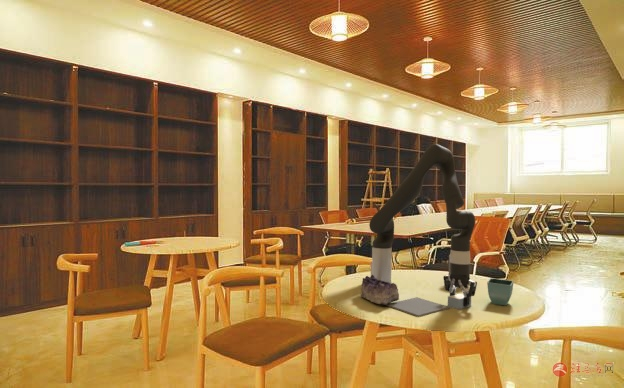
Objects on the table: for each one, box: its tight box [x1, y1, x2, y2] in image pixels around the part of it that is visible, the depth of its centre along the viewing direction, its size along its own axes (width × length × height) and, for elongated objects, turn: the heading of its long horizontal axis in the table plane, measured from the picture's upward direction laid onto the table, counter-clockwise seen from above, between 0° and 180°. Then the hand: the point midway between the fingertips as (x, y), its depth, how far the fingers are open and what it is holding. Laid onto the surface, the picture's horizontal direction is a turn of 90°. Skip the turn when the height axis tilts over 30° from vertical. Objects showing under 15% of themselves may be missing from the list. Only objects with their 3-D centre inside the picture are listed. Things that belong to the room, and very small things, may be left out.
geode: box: [360, 275, 400, 306], centre depth 164 cm, size 20×12×10 cm, turn 27°
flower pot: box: [486, 277, 514, 306], centre depth 162 cm, size 9×9×9 cm
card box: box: [447, 293, 472, 310], centre depth 158 cm, size 5×8×4 cm, turn 125°
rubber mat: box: [385, 296, 451, 317], centre depth 156 cm, size 16×18×1 cm
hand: (459, 304), depth 158 cm, fingers open, 5 cm apart
